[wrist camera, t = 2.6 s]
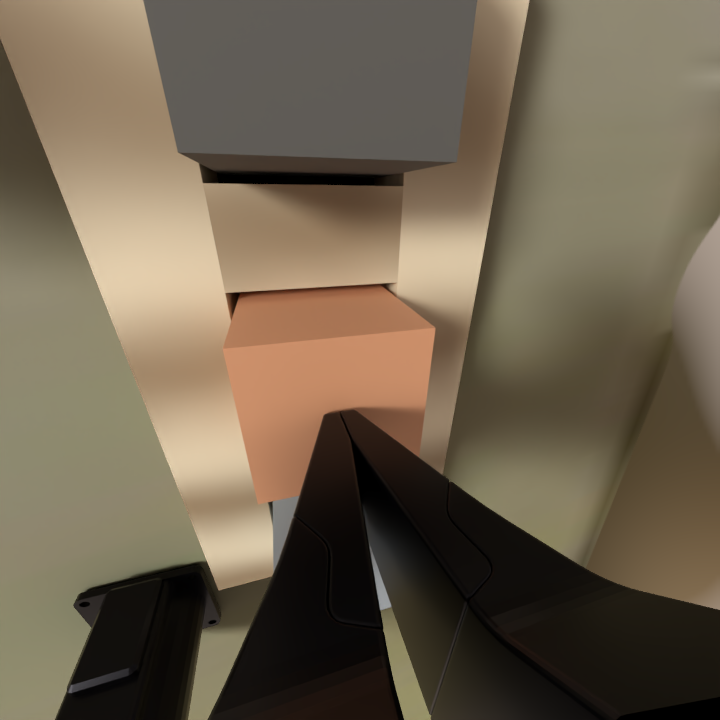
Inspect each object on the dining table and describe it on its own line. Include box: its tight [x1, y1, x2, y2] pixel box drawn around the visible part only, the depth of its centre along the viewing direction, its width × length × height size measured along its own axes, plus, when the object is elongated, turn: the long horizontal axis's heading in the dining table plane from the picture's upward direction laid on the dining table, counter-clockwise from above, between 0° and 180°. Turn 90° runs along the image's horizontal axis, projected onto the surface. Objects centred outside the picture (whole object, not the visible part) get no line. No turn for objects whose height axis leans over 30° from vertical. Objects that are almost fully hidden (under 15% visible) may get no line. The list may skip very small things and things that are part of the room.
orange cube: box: [223, 284, 436, 504], centre depth 10 cm, size 5×5×5 cm
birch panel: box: [0, 0, 529, 590], centre depth 13 cm, size 25×12×3 cm, turn 0°
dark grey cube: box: [143, 0, 477, 178], centre depth 6 cm, size 5×5×5 cm
